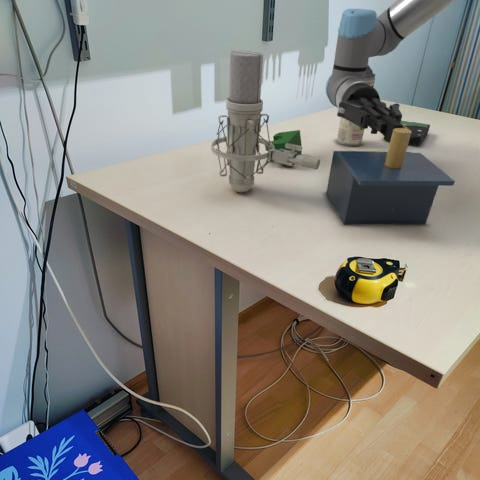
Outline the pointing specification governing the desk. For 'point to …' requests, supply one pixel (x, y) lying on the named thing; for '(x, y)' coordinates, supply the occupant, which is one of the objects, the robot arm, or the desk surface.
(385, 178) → the lid
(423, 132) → the disk drive
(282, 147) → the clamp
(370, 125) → the robot arm
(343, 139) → the aerosol can
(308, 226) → the desk surface
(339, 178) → the bin
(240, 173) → the microphone
